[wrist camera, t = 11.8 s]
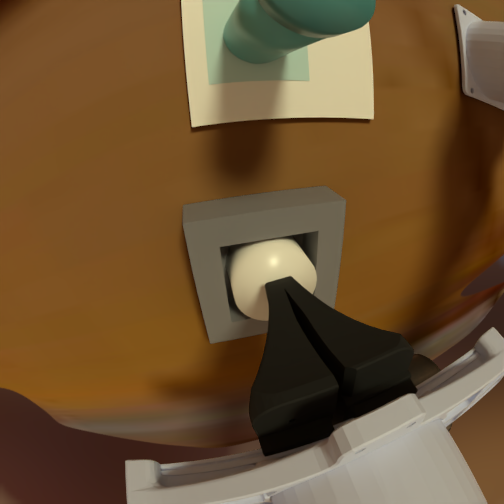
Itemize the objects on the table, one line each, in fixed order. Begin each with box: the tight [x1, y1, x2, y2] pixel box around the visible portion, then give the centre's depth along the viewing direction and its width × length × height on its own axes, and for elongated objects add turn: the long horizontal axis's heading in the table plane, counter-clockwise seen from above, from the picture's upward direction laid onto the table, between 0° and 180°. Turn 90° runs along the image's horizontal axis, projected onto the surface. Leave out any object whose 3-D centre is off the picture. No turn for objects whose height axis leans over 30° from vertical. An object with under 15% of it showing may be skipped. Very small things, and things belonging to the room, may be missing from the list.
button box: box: [183, 186, 346, 344], centre depth 16 cm, size 8×8×2 cm
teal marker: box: [223, 0, 375, 64], centre depth 7 cm, size 3×3×7 cm
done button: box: [226, 235, 317, 321], centre depth 16 cm, size 4×4×3 cm
